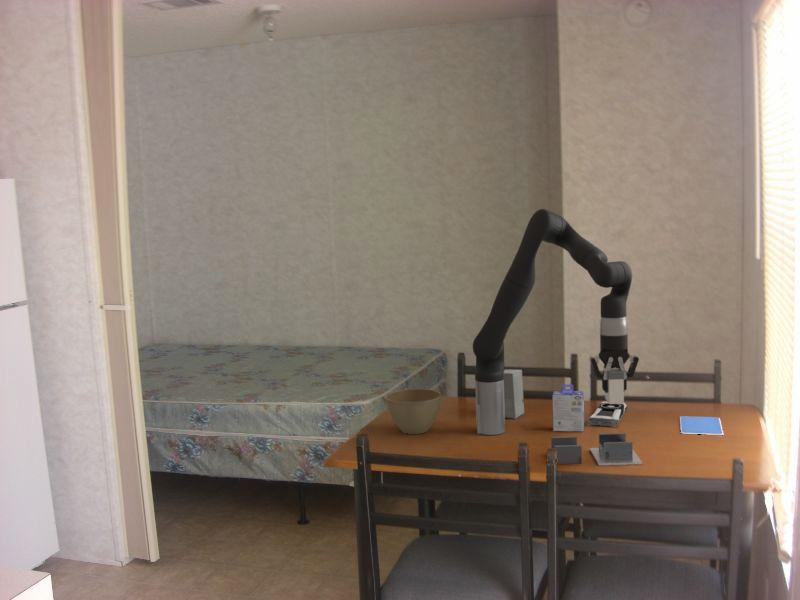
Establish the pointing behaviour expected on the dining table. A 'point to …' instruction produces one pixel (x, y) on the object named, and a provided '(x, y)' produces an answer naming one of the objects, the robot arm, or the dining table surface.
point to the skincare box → (513, 393)
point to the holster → (567, 449)
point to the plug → (615, 387)
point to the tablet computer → (700, 425)
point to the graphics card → (607, 414)
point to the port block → (615, 450)
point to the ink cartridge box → (568, 410)
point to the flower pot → (414, 409)
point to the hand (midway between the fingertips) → (614, 391)
